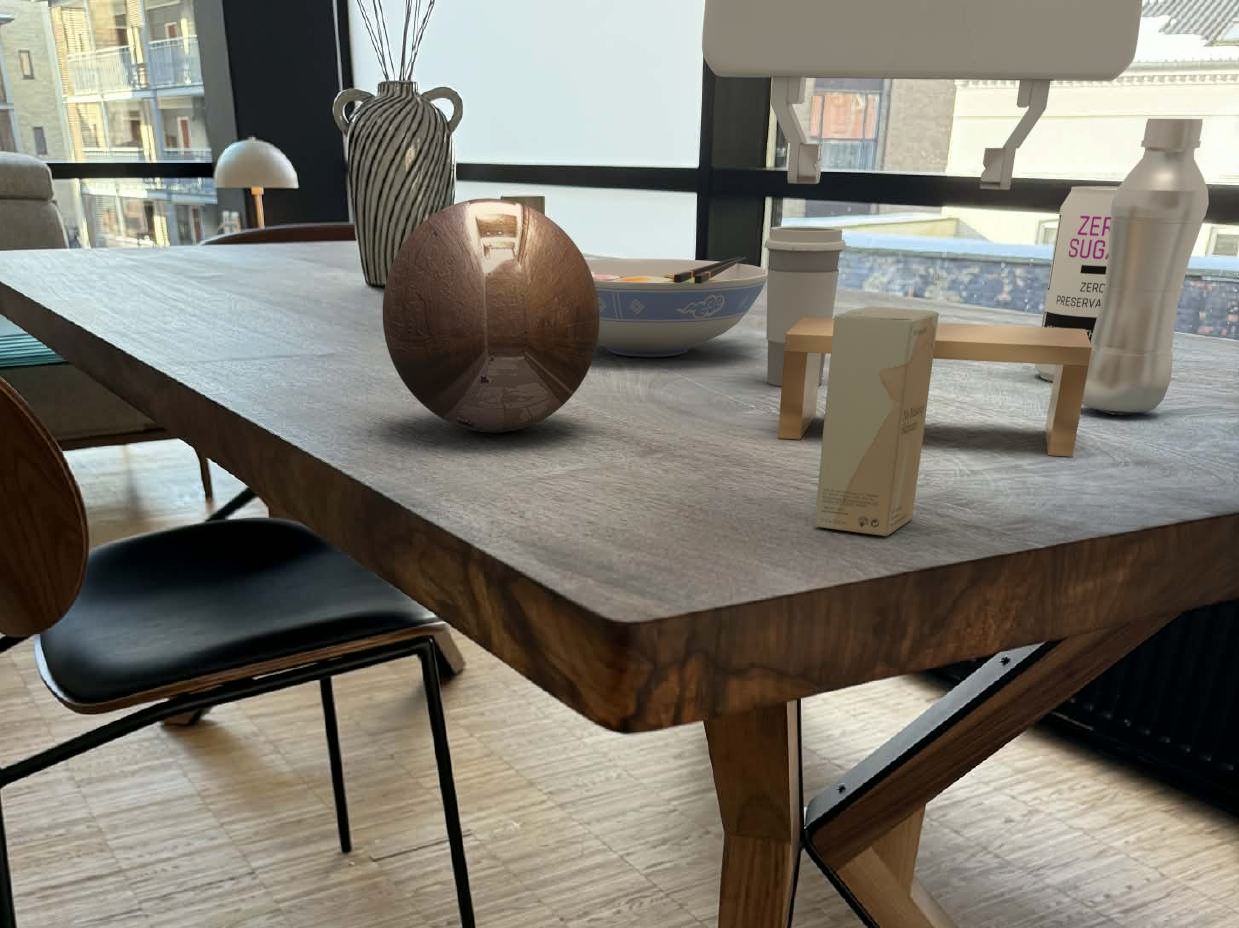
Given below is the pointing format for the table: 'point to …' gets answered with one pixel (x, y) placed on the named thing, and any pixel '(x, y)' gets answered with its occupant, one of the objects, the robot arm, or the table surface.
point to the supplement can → (1078, 263)
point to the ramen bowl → (670, 302)
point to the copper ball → (491, 315)
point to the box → (874, 418)
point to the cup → (799, 284)
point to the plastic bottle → (1146, 270)
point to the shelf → (954, 344)
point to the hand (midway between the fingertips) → (897, 186)
